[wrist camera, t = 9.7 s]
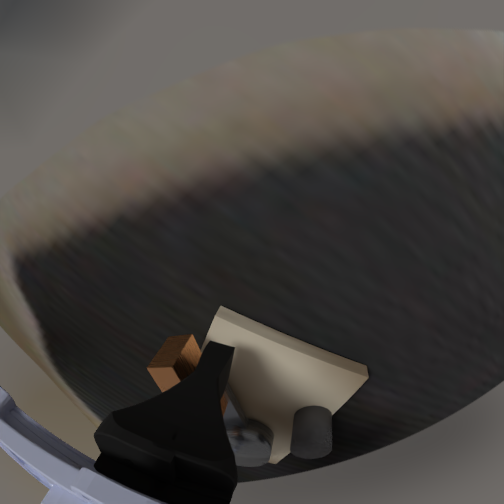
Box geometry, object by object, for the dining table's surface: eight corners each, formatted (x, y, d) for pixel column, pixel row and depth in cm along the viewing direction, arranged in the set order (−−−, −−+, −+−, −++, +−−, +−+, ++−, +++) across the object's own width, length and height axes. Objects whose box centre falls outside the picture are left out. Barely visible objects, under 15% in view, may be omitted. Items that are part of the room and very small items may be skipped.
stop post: (319, 430, 16) (317, 461, 14) (287, 421, 16) (282, 453, 14) (339, 411, 15) (340, 445, 13) (305, 401, 15) (302, 435, 13)
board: (277, 454, 19) (275, 464, 18) (174, 415, 20) (169, 425, 19) (366, 365, 15) (369, 378, 14) (220, 305, 15) (214, 316, 14)
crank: (280, 446, 17) (273, 485, 14) (228, 447, 18) (217, 482, 15) (221, 320, 14) (198, 365, 11) (156, 329, 15) (126, 368, 12)
